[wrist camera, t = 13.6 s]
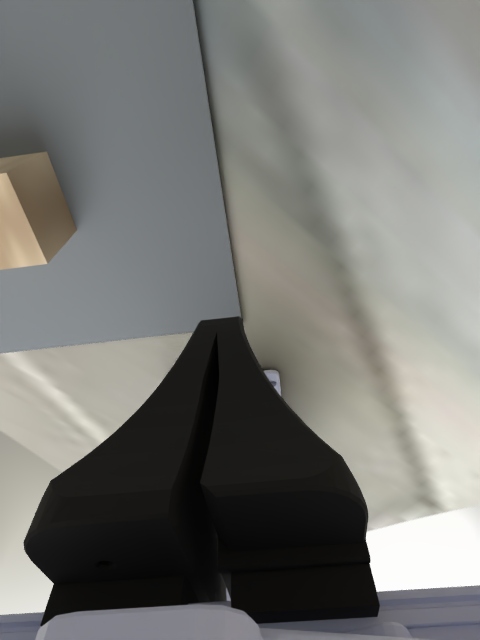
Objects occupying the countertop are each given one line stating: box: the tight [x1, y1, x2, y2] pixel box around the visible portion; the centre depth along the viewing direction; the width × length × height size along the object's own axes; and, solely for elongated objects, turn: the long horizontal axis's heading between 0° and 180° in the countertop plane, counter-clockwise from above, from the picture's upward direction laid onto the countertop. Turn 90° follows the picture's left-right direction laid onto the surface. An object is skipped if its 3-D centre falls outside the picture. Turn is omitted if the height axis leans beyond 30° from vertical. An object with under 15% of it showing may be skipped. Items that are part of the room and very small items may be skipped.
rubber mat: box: [0, 0, 242, 353], centre depth 20 cm, size 18×22×1 cm
